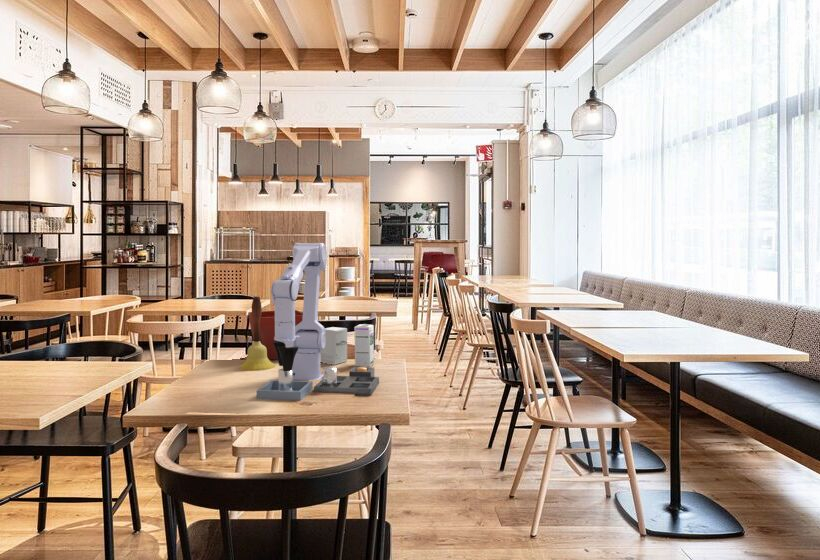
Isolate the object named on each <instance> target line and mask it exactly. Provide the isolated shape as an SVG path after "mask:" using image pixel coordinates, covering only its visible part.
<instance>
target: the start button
mask: <svg viewBox="0 0 820 560" xmlns="http://www.w3.org/2000/svg"><path fill="white" fill-rule="evenodd" d="M357 367H358V368H357V371H367V368H366V367H361V366H357Z"/></svg>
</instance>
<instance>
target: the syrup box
mask: <svg viewBox="0 0 820 560" xmlns="http://www.w3.org/2000/svg"><path fill="white" fill-rule="evenodd" d="M374 326H375V325H374V324H371V323H370V324H367V323H363V324H362V323H361V324H358V325H356V326H354V327H353V328H354V367H371V366H372V365H374V364H375V336H374V334H375V332H374V331H375V329H374V328H375V327H374Z"/></svg>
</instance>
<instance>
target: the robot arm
mask: <svg viewBox="0 0 820 560" xmlns="http://www.w3.org/2000/svg"><path fill="white" fill-rule="evenodd" d="M327 256H328V252H327V247H326V245H325V243H323V242H315V243H314V242H313V243H312V242H311V243H308V242H307V243H304V242H295V243H294V245H293V246H292V258H293V259H292V263H291V264H288V265H287V266H286V267H285V268H284V270H283V272H282V274H281V276H280V277H279V279H276V280H275V281H273V282H272V283H271V286H270V287H271V290H270V294H271V298H272V306H274V311H275V337H274V340H276V341H278V342H273V345H274V347H275V349H276V353H277V357H278V359H277V361H278V362H277V363H278V366H279V367H282V369H283V370H284V371H292V376H293V380H298V381H319V380H320V379H321V380H322V379H323V373H321V372H322V371H321V370H322V369H321V364H322V363H320V351H322V350H323V349H324V348H325V344H326V336H325V326H324V325H322V324H321V323H320V322H319V320H318V318H319V317H318V316H319V315H318V314H319V302H320V301H319V298H320V283H321V282H320V281H321V273H322V271H324V270H325V269H326V266H327ZM304 274H305V277H304ZM303 277H304V291H303V307H302V313H303V319H302V322H300V323H299V324H298V325H296V326H295V310H296V300H297V298H298V296H299V295H298V294H299V289H300V283H301V281H302V280H303ZM303 330H304V331H303Z"/></svg>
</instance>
